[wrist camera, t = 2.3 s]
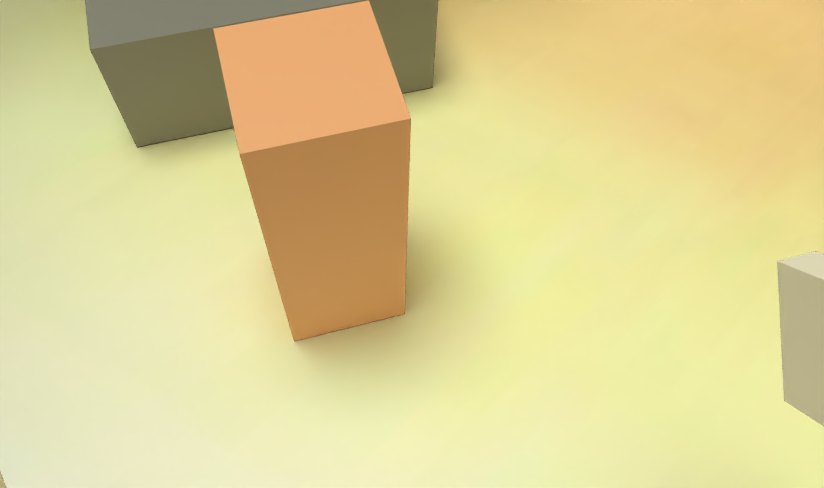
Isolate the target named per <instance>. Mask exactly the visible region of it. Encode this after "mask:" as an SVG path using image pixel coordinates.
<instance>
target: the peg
mask: <svg viewBox="0 0 824 488" xmlns="http://www.w3.org/2000/svg"><path fill="white" fill-rule="evenodd" d="M213 30H214V34H215V39H216V44H217V49H218V54H219V58H220V63H221V68H222V73H223V77H224V82H225V87H226V92H227V97H228V101H229V106H230V111H231V116H232V120H233V125H234V130H235V135H236V139H237V144H238V149H239V154H240V157H241V161H242V164H243V168H244V171H245V174H246V178H247V181H248V185H249V188H250V192H251V195H252V198H253V202H254V205H255V209H256V212H257V216H258V219H259V222H260V226H261V229H262V233H263V236H264V240H265V243H266V246H267V250H268V253H269V257H270V260H271V264H272V267H273V270H274V274H275V277H276V281H277V284H278V288H279V291H280V294H281V298H282V301H283V305H284V308H285V312H286V315H287V318H288V322H289V325H290V329H291V332H292V335H293V339H294V341H297V340H301V339H305V338H309V337H313V336H317V335H321V334H325V333H329V332H333V331H338V330H342V329H346V328H350V327H354V326H358V325H362V324H366V323H370V322H374V321H378V320H382V319H386V318H390V317H394V316H398V315H402V314H405V287H406V255H407V224H408V192H409V161H410V130H411V118H410V115H409V112H408V109H407V106H406V103H405V101H404V98H403V95H402V92H401V89H400V87H399V84H398V81H397V78H396V75H395V72H394V70H393V67H392V64H391V61H390V58H389V56H388V53H387V50H386V47H385V44H384V42H383V39H382V36H381V33H380V30H379V27H378V25H377V22H376V19H375V16H374V13H373V11H372V8H371V5H370V2H369V0H368V1H363V2H357V3H352V4H346V5H341V6H335V7H330V8H324V9H319V10H313V11H308V12H302V13H297V14H291V15H286V16H280V17H275V18H269V19H264V20H258V21H253V22H247V23H242V24H236V25H230V26H225V27H219V28H214V29H213Z"/></svg>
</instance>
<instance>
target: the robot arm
mask: <svg viewBox="0 0 824 488" xmlns="http://www.w3.org/2000/svg"><path fill="white" fill-rule="evenodd" d="M777 267H778V287H779V308H780V328H781V349H782V369H783V389H784V401H786V402H787V403H789V404H790V405H792V406H793V407H795V408H796V409H798V410H799V411H801V412H803V413H804V414H806V415H807V416H809V417H810V418H812V419H813V420H815V421H816V422H818V423H819V424H821V425H823V426H824V254H822V253H819V252H816V251H815V252H811V253H807V254H803V255H799V256H795V257H791V258H788V259H784V260H780V261H777ZM0 488H6V485H5V483H4V480H3V477H2V475H1V472H0Z"/></svg>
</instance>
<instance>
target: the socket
mask: <svg viewBox="0 0 824 488" xmlns="http://www.w3.org/2000/svg"><path fill="white" fill-rule="evenodd" d="M363 1H368V0H85V4H86V14H87V24H88V34H89V44H90V50H91V53H92V55H93V57H94V59H95V61H96V63H97V65H98V67H99V69H100V71H101V73H102V75H103V77H104V79H105V82H106V84H107V86H108V88H109V90H110V92H111V94H112V96H113V98H114V100H115V102H116V104H117V106H118V109H119V111H120V113H121V115H122V117H123V119H124V121H125V123H126V125H127V127H128V129H129V131H130V133H131V136H132V138H133V140H134V142H135V144H136V146H137V147H140V146H145V145H150V144H155V143H159V142H164V141H169V140H174V139H179V138H184V137H189V136H194V135H199V134H204V133H209V132H214V131H219V130H224V129H229V128H234V125H233V120H232V116H231V111H230V106H229V101H228V97H227V92H226V87H225V82H224V77H223V73H222V68H221V63H220V58H219V54H218V49H217V44H216V39H215V34H214V30H213V29H214V28H219V27H225V26H230V25H236V24H242V23H247V22H253V21H258V20H264V19H269V18H275V17H280V16H286V15H291V14H297V13H302V12H308V11H313V10H319V9H324V8H330V7H335V6H341V5H346V4H352V3H357V2H363ZM369 2H370V5H371V8H372V11H373V13H374V16H375V19H376V22H377V25H378V27H379V30H380V33H381V36H382V39H383V42H384V44H385V47H386V50H387V53H388V56H389V58H390V61H391V64H392V67H393V70H394V72H395V75H396V78H397V81H398V84H399V87H400V89H401V92H402V93H407V92H412V91H417V90H421V89H426V88H431V87H432V86H433V71H434V56H435V40H436V25H437V10H438V0H369Z"/></svg>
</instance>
